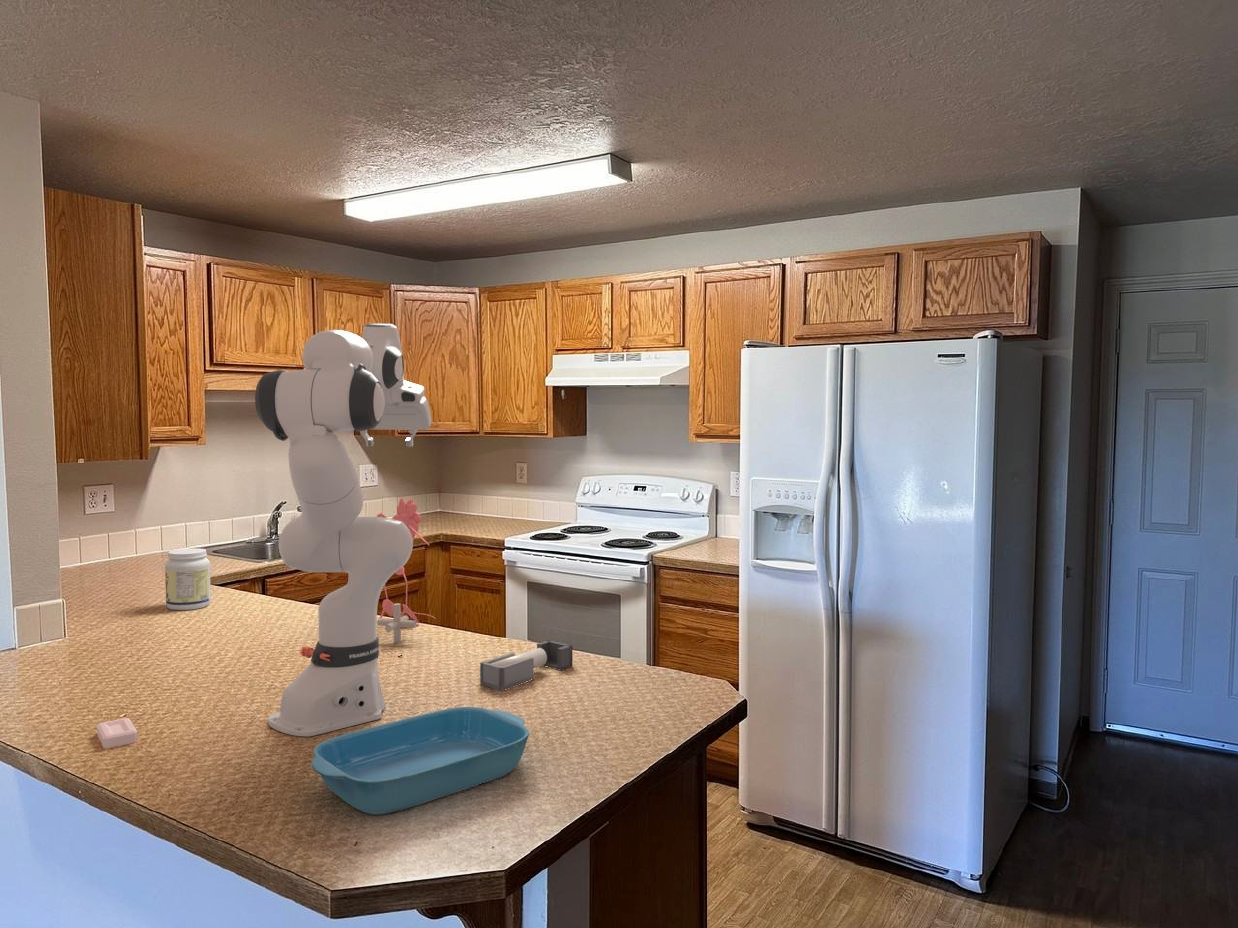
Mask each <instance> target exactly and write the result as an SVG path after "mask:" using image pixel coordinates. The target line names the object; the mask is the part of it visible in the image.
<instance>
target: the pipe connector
mask: <svg viewBox="0 0 1238 928" xmlns="http://www.w3.org/2000/svg"><path fill="white" fill-rule="evenodd" d="M401 610H402V609H401V603H398V602H397V603H393V616H392V618H382V619H379V618H378V619H377V626H381V627H382V626H383V627H384V629H385V631H386V632H388V633H389V632H391V631H392V632H393V644H400V643H402V635H401V634H402V633H401V632H402V628H412V629H413V628H416V627H417V624H418V623H417V622H416V621H415V620H414V619H412V620H410V619H409V618H410V617H409V615H403V617H401V614H402V613H401V612H402V611H401Z"/></svg>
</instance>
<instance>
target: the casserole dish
mask: <svg viewBox="0 0 1238 928" xmlns="http://www.w3.org/2000/svg"><path fill="white" fill-rule="evenodd" d="M524 724H525V720H524V719H523V717H522V718H521V716H519V715H516V714H514V713H512V712H508V711H504V710H498V709H496V710H495V709H489V708H484V707H478V706H459V707H452V708H447V709H439V710H436V711H432V712H427V713H423V714H420V715H415V716H410V717H408V718H403V719H399V720H396V721H391V722H387V723H383V724H380V725H376V726H373V727H372V726H371V727H367V728H363V729H360V730H356V731H352V732H348V733H344V734H341V735H338V736H335V737H331V738H329V739H326V740H324V741H322V742H320V743H318V744H317V745H316V746H314V749H313V756H314V757H313V759H312V762H311V768H312V769H313V771H314V772H316V773H317V774H318V775H320V777H321V779H322V782H324V784H325V786H326V787H327V788H328V789H329V790H330V791H332V793H334V794H335V795H337V796H338V797H339V798H341V800H343V801H344V802H346V803H347V804H348V805H349V806H351V807H353V808H355V809H357V810H358V811H360V812H363V813H365V814H367V815H374V816H376V815H378V816H379V815H386V814H390V813H395V812H399V811H404V810H407V809H409V808H413V807H417V806H420V805H423V804H426V803H429V802H432V800H433V801H435V799H436V800H438V798H439V799H441V797H442V798H445V797H448V796H450V795H452V794H457V793H460V792H459V791H461V792H463V791H462V790H464V791H466V790H465V789H467V790H469V789H468V788H470V789H472V788H471V787H473V788H475V787H478V786H480V785H479V784H481V785H483V784H482V783H484V784H486V783H485V782H487V783H489V782H491V780H492V781H494V780H493V779H495V780H497V779H499V778H498V777H500V778H502V777H504V776H506V775H508V774H510V773H511V772H512V771H513V770H514V769H516V767H517V766H518V764H519V763H520V761H521V758H522V757H523V754H524V751H525V748H526V745H527V742H528V739H529V737H530V731H529V728H528V727H527V726H525V725H524ZM507 773H508V774H507ZM505 774H506V775H505ZM503 775H504V776H503ZM501 776H502V777H501ZM496 778H497V779H496ZM488 781H489V782H488ZM477 785H478V786H477ZM474 786H475V787H474ZM456 792H457V793H456ZM444 796H445V797H444Z"/></svg>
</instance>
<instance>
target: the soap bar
mask: <svg viewBox="0 0 1238 928" xmlns="http://www.w3.org/2000/svg"><path fill="white" fill-rule="evenodd" d="M96 735H97V738H98V739H99V742H100V743H101V745H102V748H103V749H110V748H115V747H119V746H124V745H129V744H135V743H137V742H138V741H139V739H138V737H139V736H138V730H137V729H136V727H135V726H134V724H133V722H132V720H131V719H130V718H129V717H125V718H124V717H123V718H119V719H115V720H109V721H104V722H103V721H102V722H99V723H97V725H96Z"/></svg>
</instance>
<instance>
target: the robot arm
mask: <svg viewBox="0 0 1238 928" xmlns="http://www.w3.org/2000/svg"><path fill="white" fill-rule="evenodd" d="M362 327H363V329H362V337H361V336H359V335H358V334H354V333H352V332H350V331H346V330H343V329H342V330H341V329H327V330H323V331H319V332H317V333H315V334H312V336H310V337H309V339H307V341H306V342H305V344H304V345H303V350H302V357H301V358H302V363H303V365H304V367H305V369H296V370H295V369H293V370H285V369H279V370H273V371H271V372H270V371H269V372H266V373H264V374H263V375H262V376H261V377H260V379H259V380H258V382H257V383H256V388H255V391H254V393H255V394H254V404H255V410H256V414H257V416H258V418H259V420H260V421H261V423H262V424H263V425H264V426H265V427H266V428H267V429H268V430H269V431H271V432H272V433H273V435H274V437H275V438H276V439H277V440H280V441H282V442H284V441H286V440H289V447H288V448H289V449H288V466H289V473H290V479H291V482H292V485H293V488H294V491H295V494H296V497H297V499H298V502H299V507H300V510H301V514H300V515H299V516H298V517H296V518H295V519H293V520H290V521H288V523H287V524H286V525H285V526H284V528H283V529H282V530H281V533H280V535H279V539H278V551H279V555H280V558H281V559H282V561H283V563H285V565H286V566H287V567H288V568H290V569H292V570H293V569H294V570H297V571H298V570H299V571H302V572H303V571H304V572H310V573H347V574H348V579H347V580H348V581H347V584H346V585H344V586H342V587H340V588H337V589H335V590H333V591H331V592H329V593H328V594H327V595H326V596H324V597H323V599H322V600H321V601H320V603H319V605H318V615H317V616H318V641H317V642H316V644H315V647H314V648H313V647H309V646H307V645H305V646H302V647H301V649H300V652H299V654H300V655H301V656H302V657H305V658H307V659H310V663H309V664H308V665H307V666H306V668H304V669H303V670H302V672H300V673H299V675H297V676H296V677H295V679H293V681H291V682H290V683H289V684H288V685H287V686H286V687H285V688H284V690H283V693H282V696H281V701H280V702H281V703H280V710H279V711H277V712H275V713H272V714H271V715H269V716H268V718H267V719H268V720H267V724H268V725H269V726H270V727H271V729H274V730H276V731H278V732H280V733H283V734H286V735H291V736H296V737H314V736H319V735H322V734H325V733H330V732H333V731H337V730H342V729H345V728H348V727H349V728H350V727H353V726H356V725H361V724H365V723H369V722H371V721H373V722H374V721H376V720H379V719H381V718H382V717H383V716H382V712H383V711H384V710H385V709H386V707H387V705H386V702H385V699H384V695H383V690H382V686H381V681H380V675H379V666H378V665H379V664H378V663H379V662H378V659H379V656H380V644H379V637H378V636H377V622H378V619H377V617H378V615H377V614H378V605H379V601H380V600H379V599H380V596H381V593H382V590H383V588H384V585H385V586H386V583H388V580H389V579H390V578H391V577H392V576H393V575H394V574H396V573H395V572H396V571H397V570H399V569H400V568H402V567H404V566H405V565H406V564H407V562H408V561H409V559H410V557H411V555H412V552H413V549H414V548H413V546H414V541H413V539H412V535H411V532H410V530H409V529H408V527H407V526H406V525H405V524H404V523H403V522H402V521H398V520H394V519H392V518H389V517H388V518H387V517H386V518H383V517H376V516H359V515H360V514H361V512H362V510H363V506H364V495H363V492H362V489H361V485H360V482H359V478H358V476H357V475H358V474H357V472H356V471H357V470H356V469H355V468H356V467H355V465H354V462H353V461H352V458H351V456H350V454H349V452H348V450H347V448H346V446H345V444H344V443H343V441H342V440H341V438H340V437H339V436H338V435H337V432H338V433H339V432H351V431H355V432H357V433H358V432H359V433H360V435H361V437H362V438H363V440H365V446H366V447H373V446H374V445H375V441H374V439H375V438H374V437H373V436H372V437H371V436H370V435H369V434H368V430H369V431H370V430H375V431H377V430H379V431H383V430H384V431H389V430H393V431H394V430H395V431H400V430H402V431H403V430H404V431H409V434H410V435H411V436H410V437H406V439H405V447H408V448H413V447H414V437H415V436H416V434H417V432H418V431H427V430H429V428H430V427H431V425H432V412H431V407H430V403H429V401H428V399H427V398H426V397H425V392H426V391H425V386H423V385H420V384H417V383H415V382H414V383H413V382H411V381H407V380H405V378H404V377H405V375H404V372H405V367H404V366H405V365H404V356H403V351H402V350H403V349H402V345H401V339H400V333H399V331H398V330H399V329H398V327H397V325H394V324H393V323H379V322H378V323H367V324H365V325H363V326H362Z"/></svg>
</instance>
